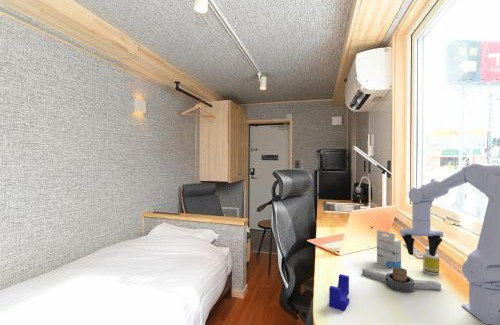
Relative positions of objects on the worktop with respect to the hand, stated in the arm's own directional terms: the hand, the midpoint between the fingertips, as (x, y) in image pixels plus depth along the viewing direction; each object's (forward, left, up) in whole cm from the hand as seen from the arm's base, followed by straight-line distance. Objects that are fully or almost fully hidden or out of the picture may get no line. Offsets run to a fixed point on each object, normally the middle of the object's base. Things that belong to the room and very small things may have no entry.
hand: (421, 254), depth 97 cm
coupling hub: (-7, +11, -9) cm, 16 cm away
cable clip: (-19, +34, -10) cm, 40 cm away
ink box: (+14, +6, -10) cm, 18 cm away
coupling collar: (-4, +9, -9) cm, 14 cm away
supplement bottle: (+8, -8, -10) cm, 15 cm away
